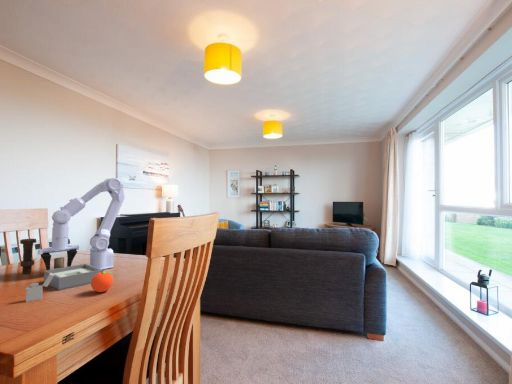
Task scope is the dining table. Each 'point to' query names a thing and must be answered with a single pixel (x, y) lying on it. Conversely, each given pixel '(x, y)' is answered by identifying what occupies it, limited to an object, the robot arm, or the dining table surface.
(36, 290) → the lighter
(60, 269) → the bore box
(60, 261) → the peg
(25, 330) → the dining table surface
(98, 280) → the clementine
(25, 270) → the bolt
